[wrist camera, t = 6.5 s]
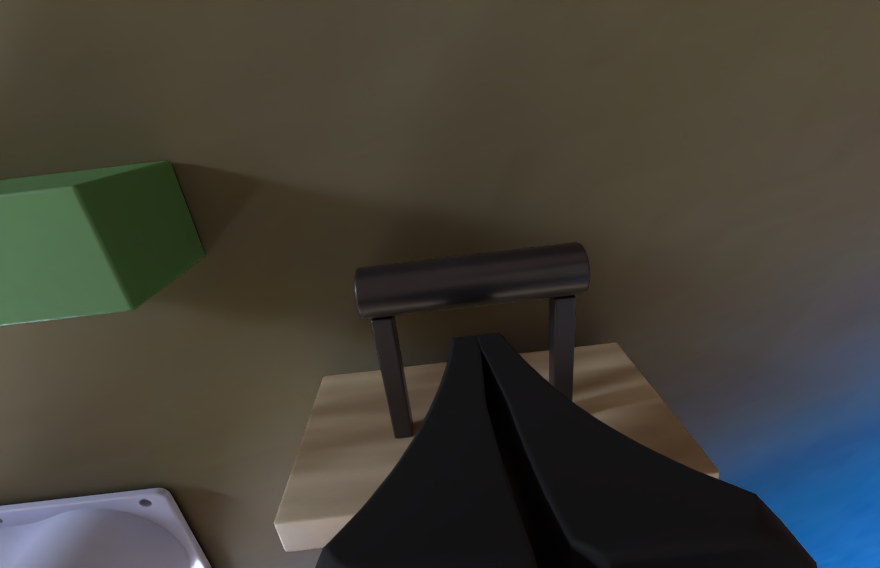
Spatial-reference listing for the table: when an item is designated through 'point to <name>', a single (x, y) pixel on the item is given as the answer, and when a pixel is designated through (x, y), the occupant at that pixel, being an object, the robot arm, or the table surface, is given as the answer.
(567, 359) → the drawer
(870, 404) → the table surface
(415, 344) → the table surface
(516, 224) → the table surface
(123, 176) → the green block
